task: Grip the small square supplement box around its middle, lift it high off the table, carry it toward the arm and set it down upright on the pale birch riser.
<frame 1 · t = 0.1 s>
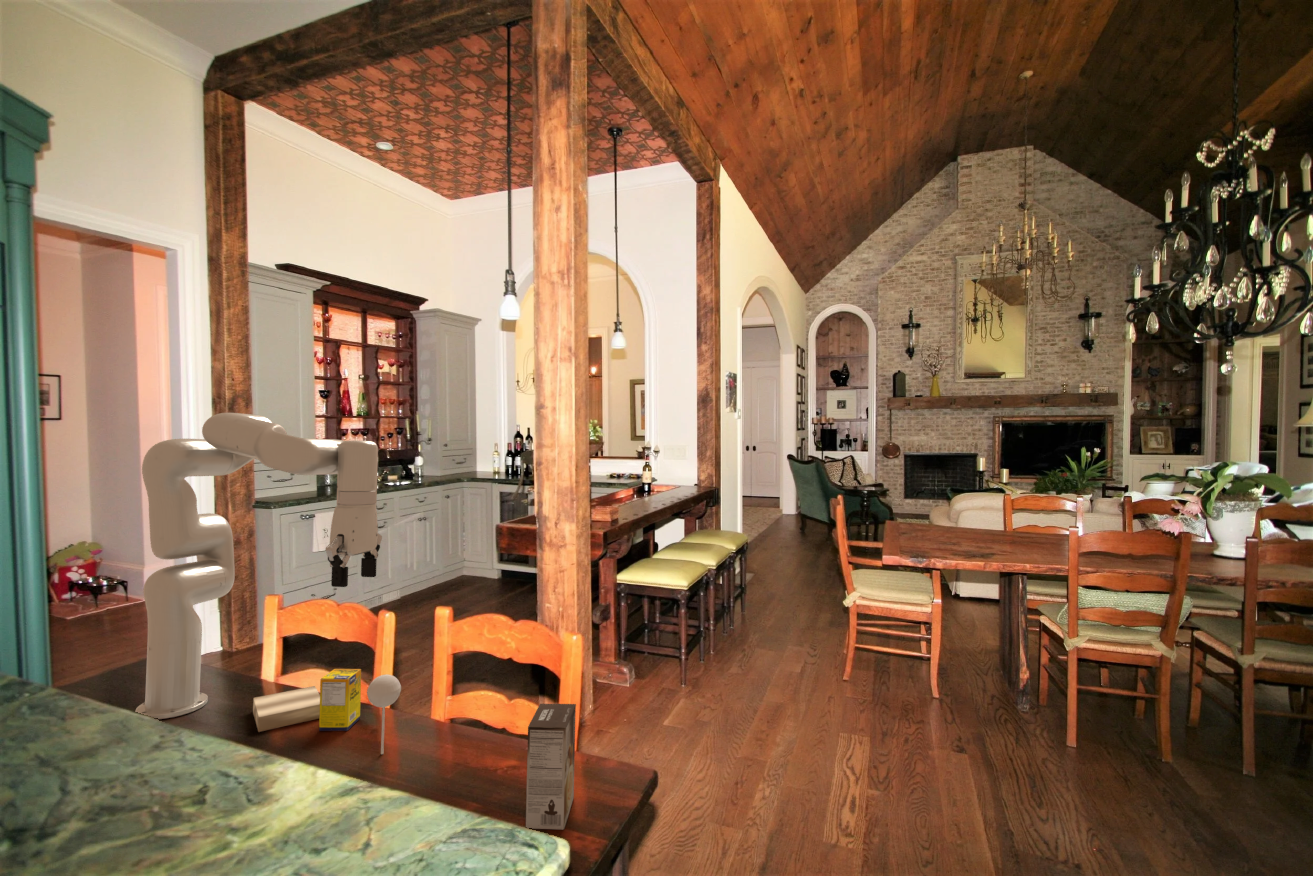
hand: (354, 581, 127), 31 cm above the worktop, tool pointing down, fingers open, 9 cm apart
birch riser: (288, 714, 133), on the worktop
coffee box: (550, 814, 99), on the worktop
supplement box: (339, 726, 129), on the worktop
lollipop: (382, 755, 117), on the worktop
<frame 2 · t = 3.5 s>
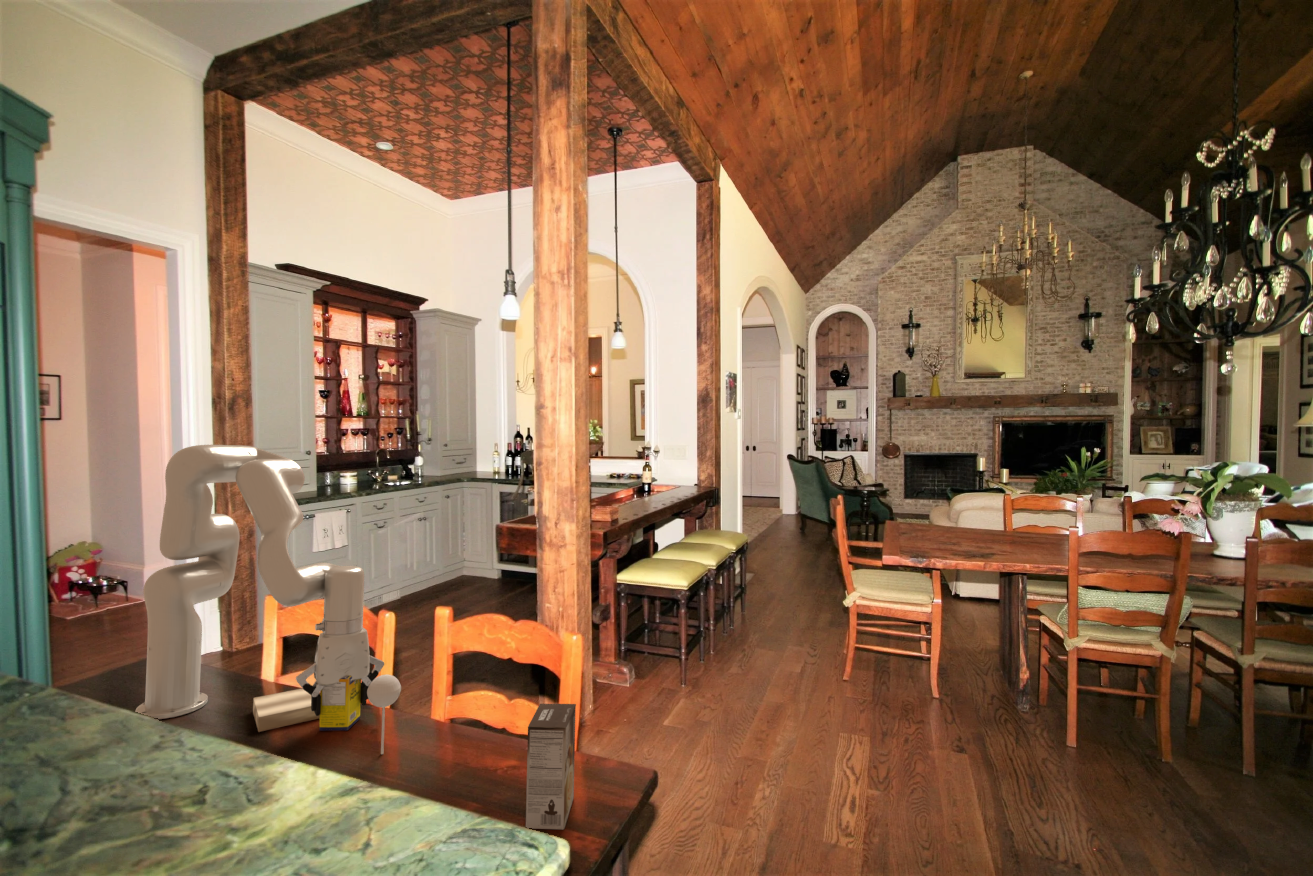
hand: (340, 708, 129), 4 cm above the worktop, tool pointing down, fingers closed on supplement box, 8 cm apart
supplement box: (340, 726, 129), on the worktop, touching gripper
everything else where it was.
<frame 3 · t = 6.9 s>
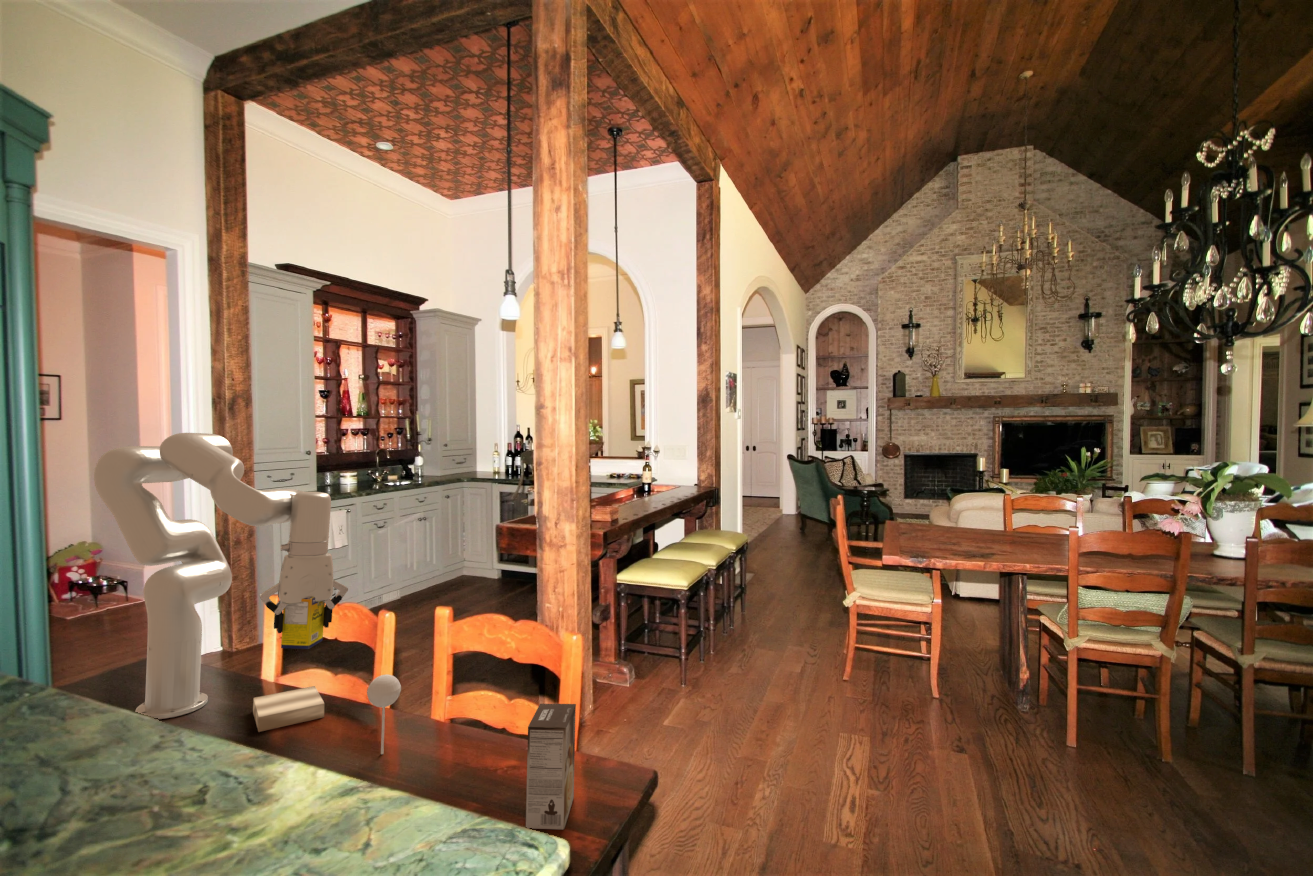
hand: (302, 628, 133), 19 cm above the worktop, tool pointing down, fingers closed on supplement box, 8 cm apart
supplement box: (302, 645, 132), point 15 cm above the worktop, touching gripper
everything else where it was.
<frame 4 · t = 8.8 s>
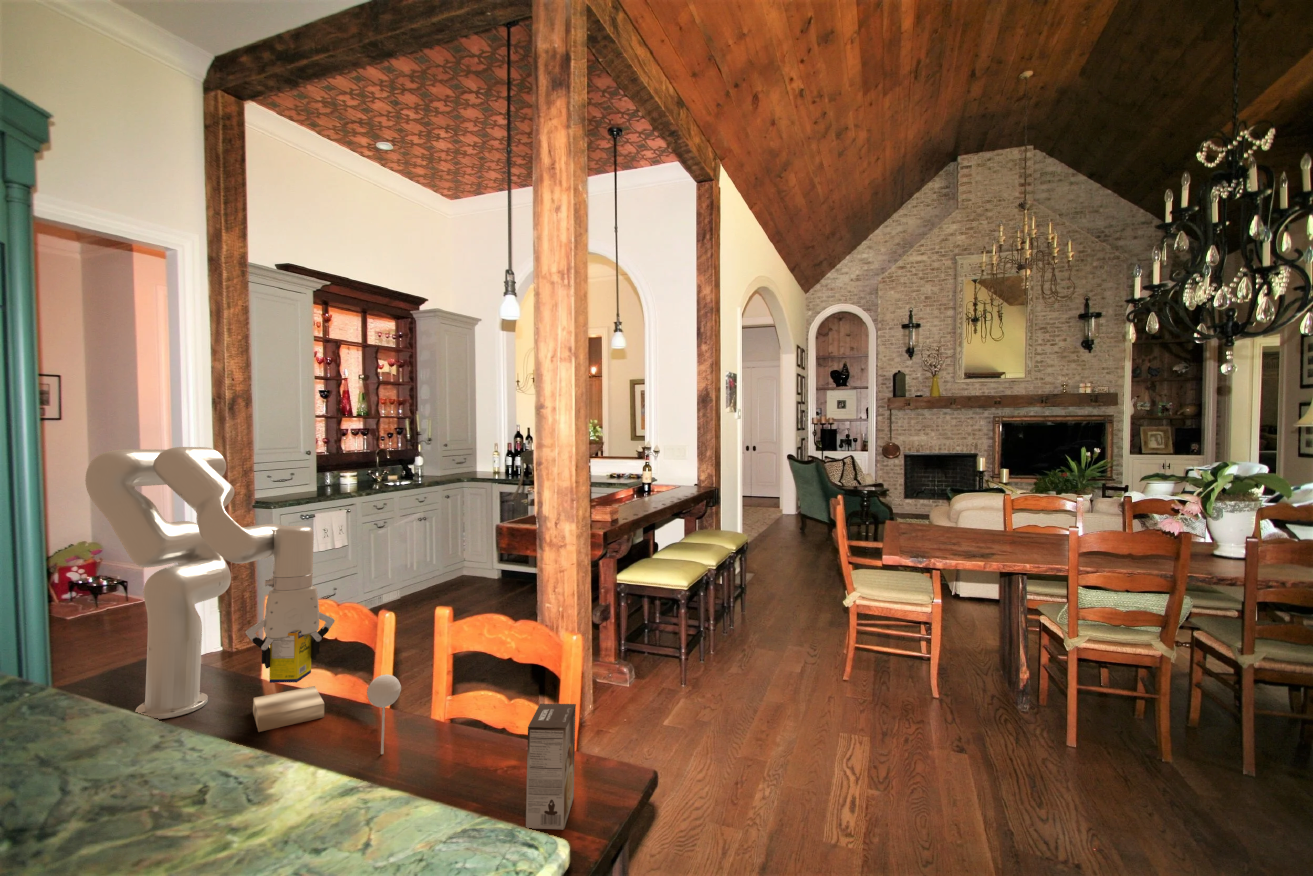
hand: (290, 662, 134), 11 cm above the worktop, tool pointing down, fingers closed on supplement box, 8 cm apart
supplement box: (290, 679, 133), point 8 cm above the worktop, touching gripper
everything else where it was.
when the fingers open (8 cm above the worktop, at t = 10.5 s): supplement box drops 1 cm, resting on birch riser.
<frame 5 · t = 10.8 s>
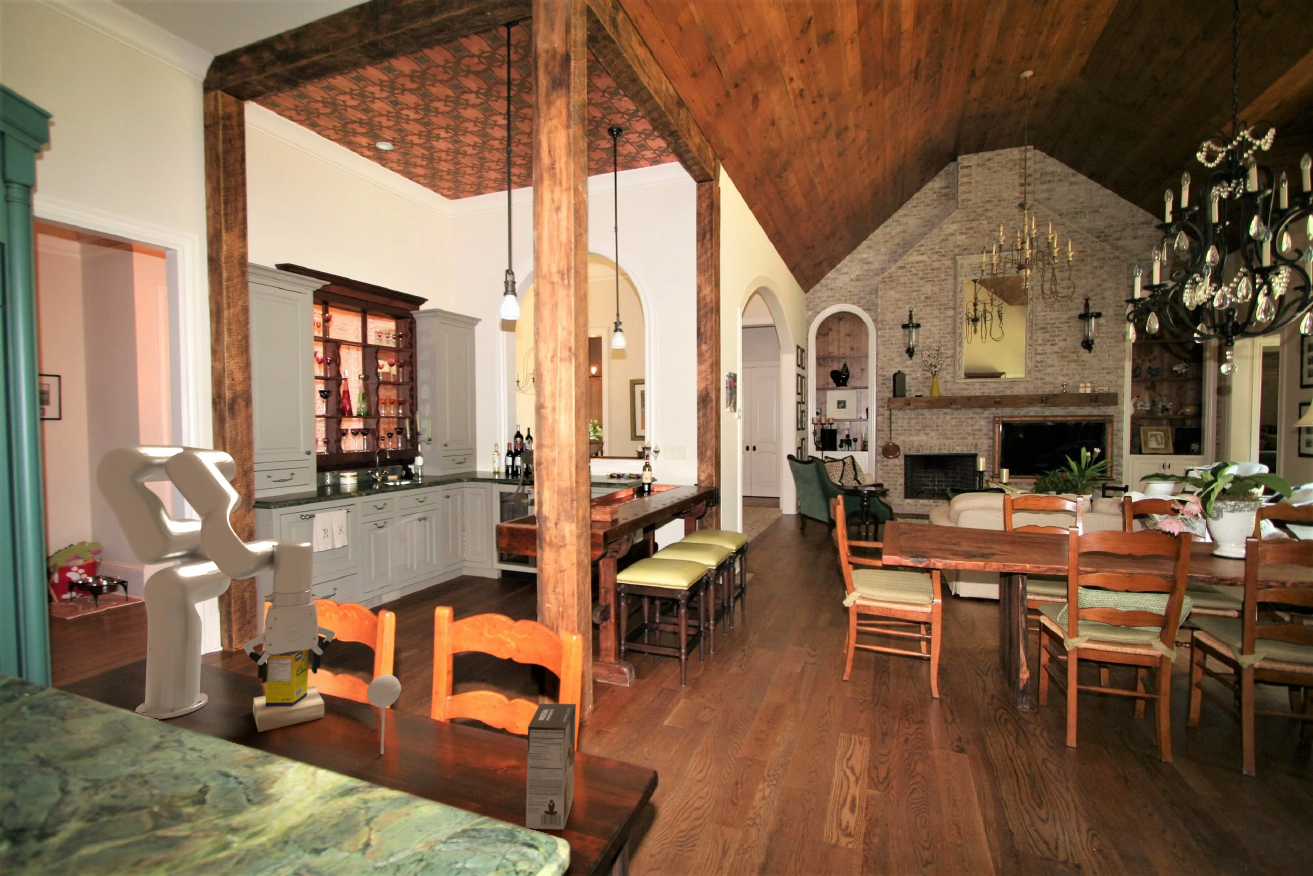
hand: (289, 676, 134), 8 cm above the worktop, tool pointing down, fingers open, 9 cm apart
supplement box: (286, 701, 133), point 3 cm above the worktop, touching birch riser
everything else where it was.
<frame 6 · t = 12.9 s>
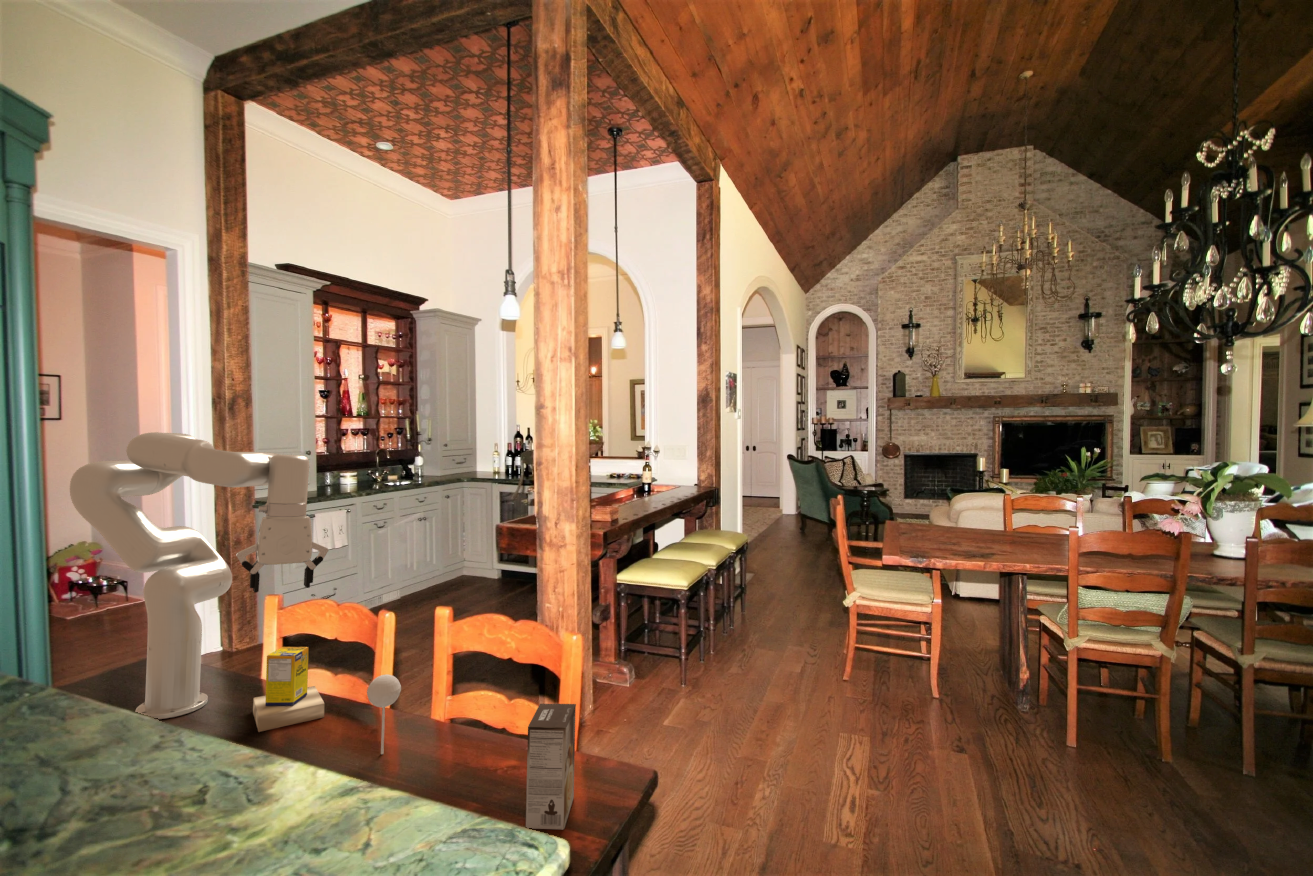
hand: (281, 588, 133), 28 cm above the worktop, tool pointing down, fingers open, 9 cm apart
nothing on the worktop moved.
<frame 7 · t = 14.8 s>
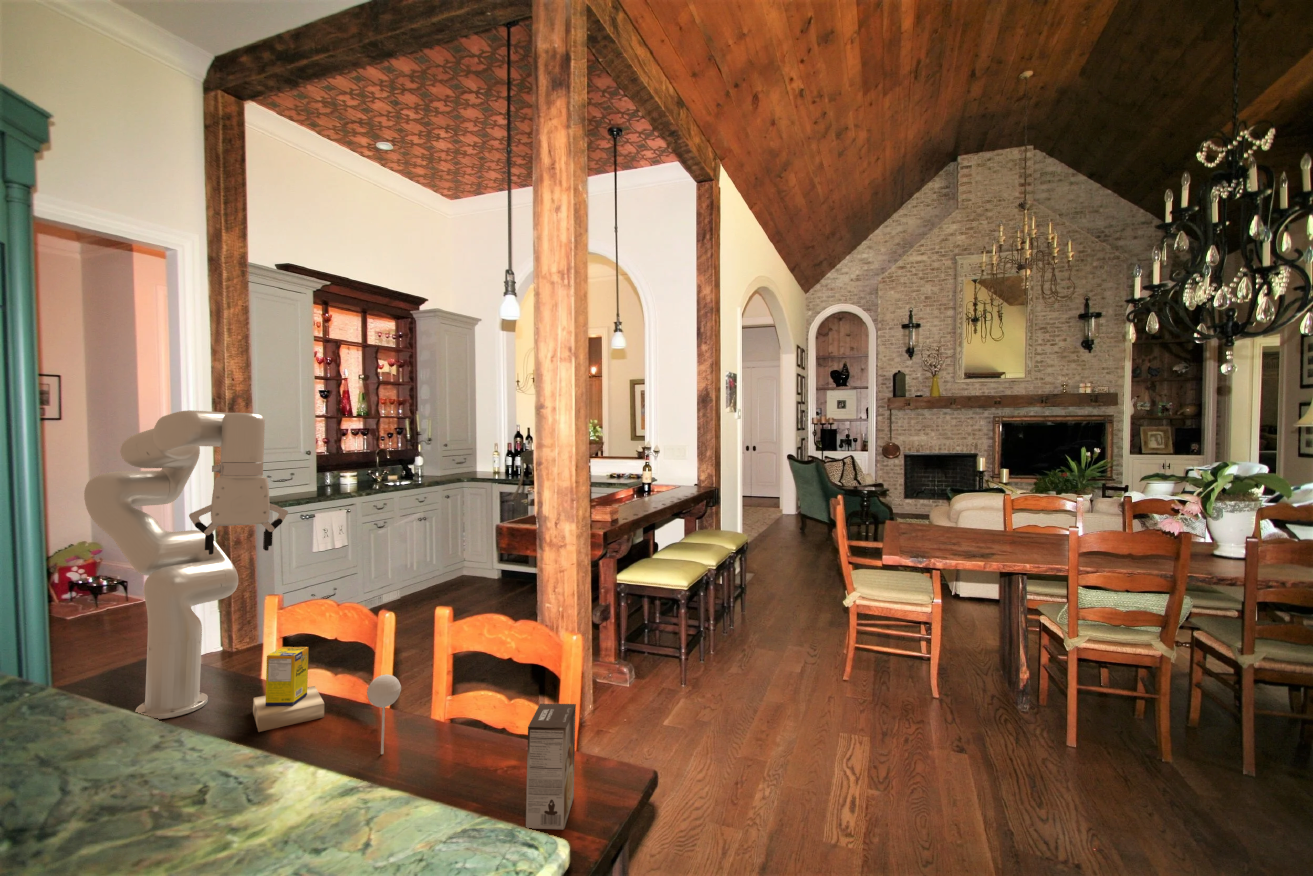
hand: (238, 551, 129), 36 cm above the worktop, tool pointing down, fingers open, 9 cm apart
nothing on the worktop moved.
at the end: supplement box inside the target area on the birch riser (0.4 cm from its centre), point 2.8 cm above the birch riser's base; supplement box tilted 0°; the gripper is holding nothing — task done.
